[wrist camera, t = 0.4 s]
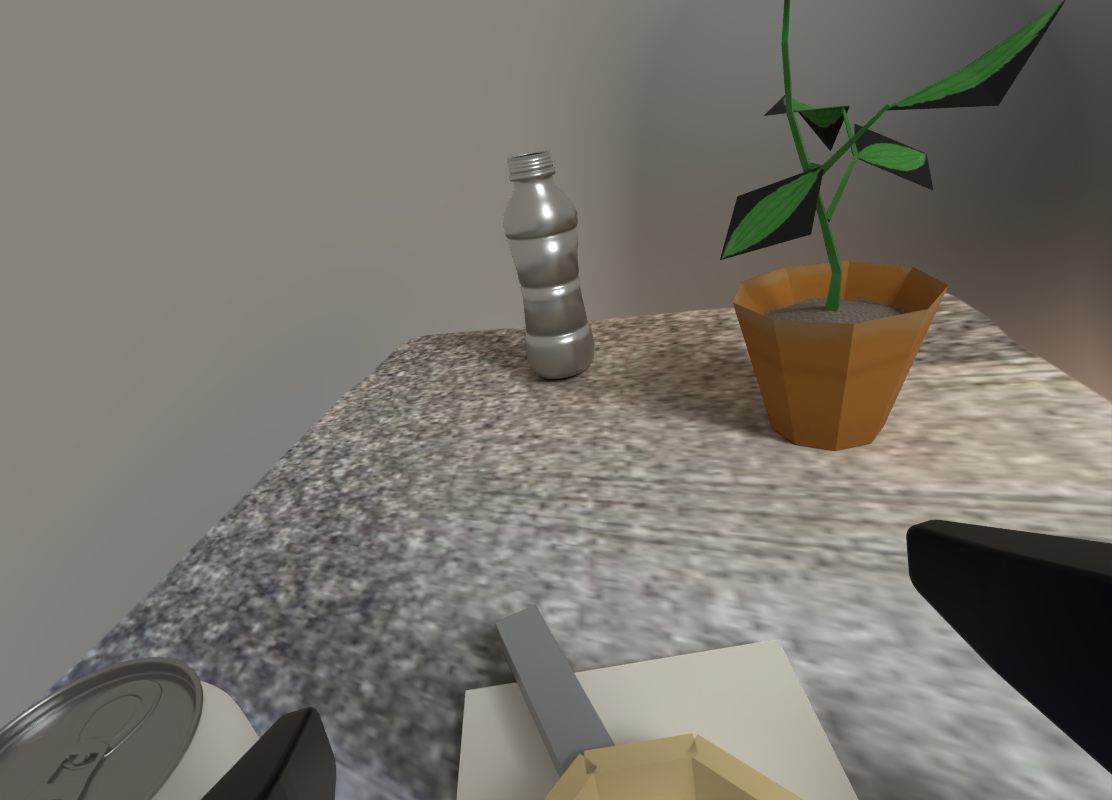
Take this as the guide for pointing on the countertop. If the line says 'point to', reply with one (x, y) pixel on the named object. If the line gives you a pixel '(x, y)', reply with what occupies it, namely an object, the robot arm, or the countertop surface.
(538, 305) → the plastic bottle
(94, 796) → the can
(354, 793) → the countertop surface
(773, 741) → the octagonal ring fixture plate
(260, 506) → the countertop surface
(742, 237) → the potted plant
